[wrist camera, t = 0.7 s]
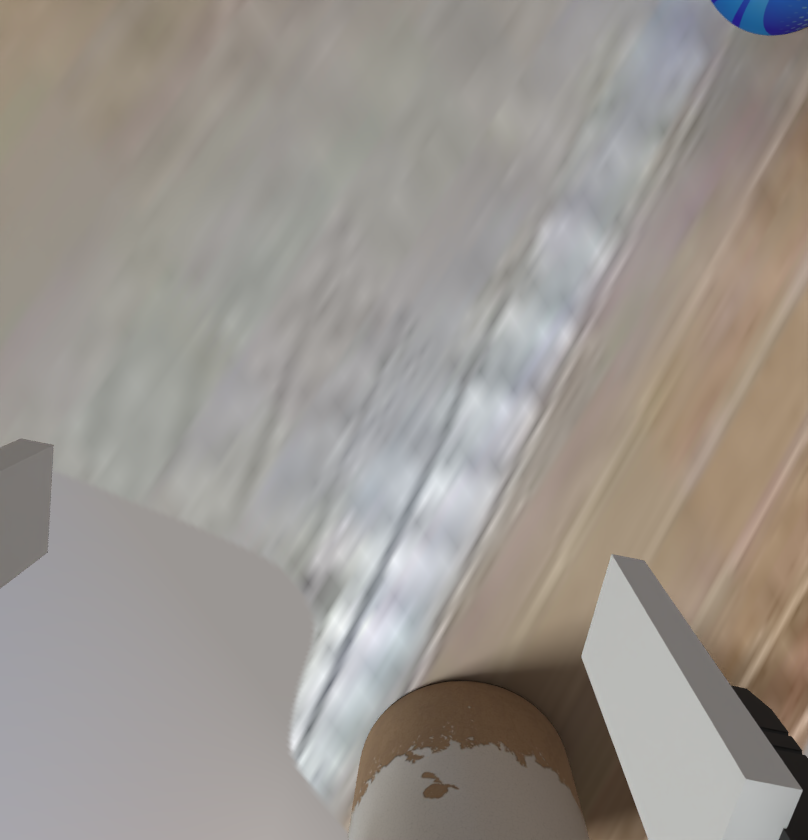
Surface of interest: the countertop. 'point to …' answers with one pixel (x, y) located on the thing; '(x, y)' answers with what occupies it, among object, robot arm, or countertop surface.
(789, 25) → the beer can
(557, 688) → the countertop surface
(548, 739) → the vase
